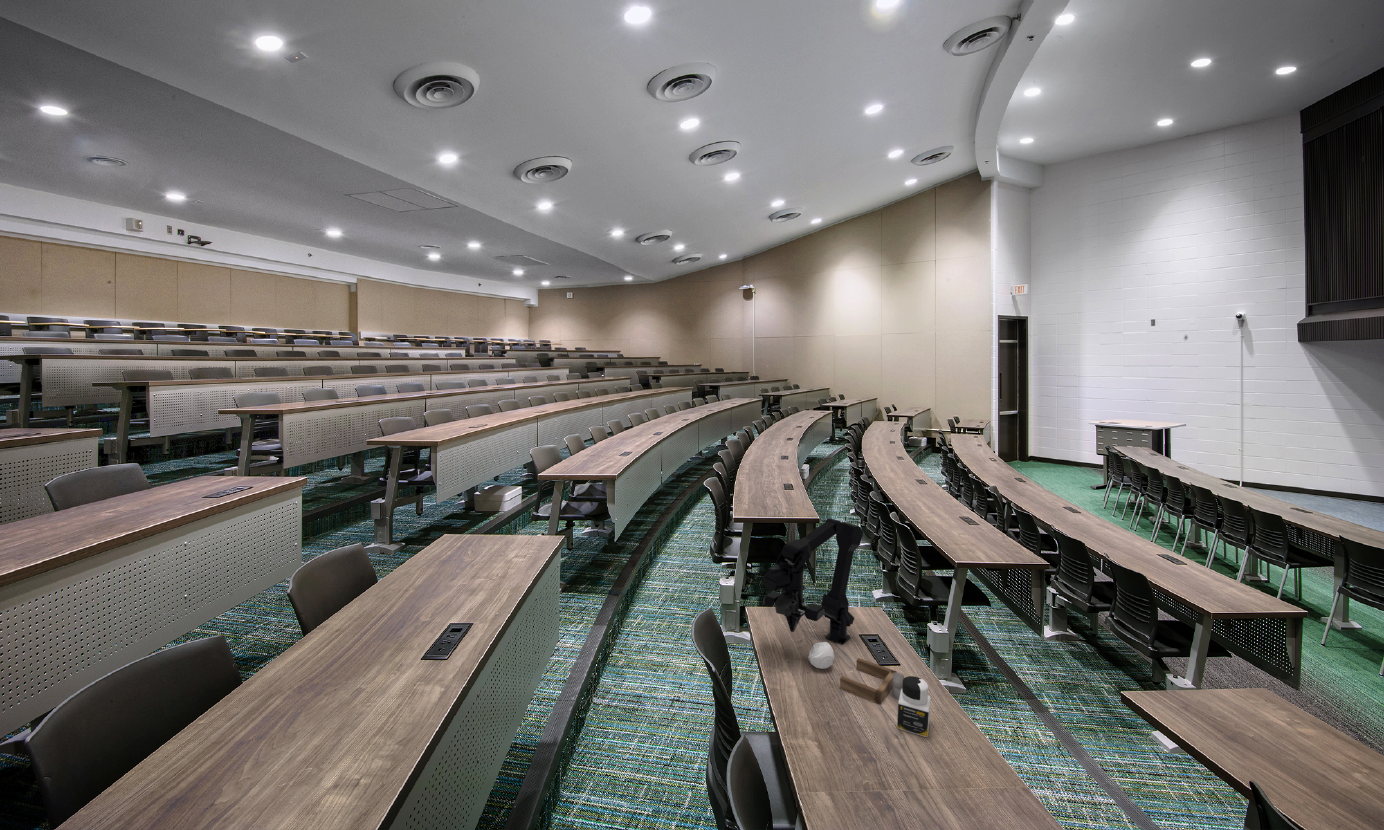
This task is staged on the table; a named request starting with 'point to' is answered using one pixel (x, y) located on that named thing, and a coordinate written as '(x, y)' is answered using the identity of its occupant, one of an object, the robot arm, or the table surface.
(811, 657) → the white carved ball
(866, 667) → the carrier cradle
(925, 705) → the medicine bottle
